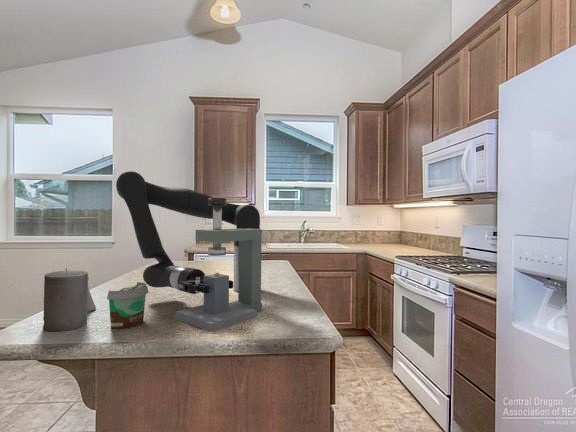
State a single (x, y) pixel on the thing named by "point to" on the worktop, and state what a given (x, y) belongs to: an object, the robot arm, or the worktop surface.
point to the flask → (90, 302)
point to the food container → (127, 306)
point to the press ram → (217, 225)
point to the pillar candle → (65, 300)
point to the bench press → (247, 281)
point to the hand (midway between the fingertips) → (220, 287)
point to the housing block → (216, 293)
